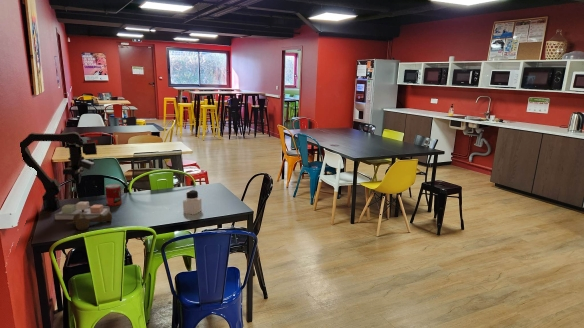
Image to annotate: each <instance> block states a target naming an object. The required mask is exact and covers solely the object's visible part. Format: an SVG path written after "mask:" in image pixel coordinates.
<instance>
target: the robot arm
mask: <svg viewBox="0 0 584 328" xmlns="http://www.w3.org/2000/svg"><path fill="white" fill-rule="evenodd" d="M34 142H61V143H66V145H64V148H65V149H68V152H69V157H68V158H67V159H68V161H70V163H69V165H68V167H66V168H63V170H62V175H64V176H66V175H67V176H68V175H70V176H71V177H72V178H73V180H74V181H75V182H76V184H81V179H82V175H83V173H84V172H85V171H86V170H91V169H93V168H94V165H95V161H94V158H89V159H85V157H84V156H83V155H85V156H92V155H96V156H97V154H98V150H97V148H98V147H97V144H96V141H92V142H85V140H83V139H82V138H81V135H80V133H79V132H76V131H70V132H64V133H63V132H62V133H39V132H38V133H35V132H31V133H29V134H28V135H27V136H26V137H25V138H24V139H23V140H22V141H20V147H21V153H22V157H23V160H24V161H23V160H22V161H23V162H24V164H26V166H27V167H28V166H29V167H32V168H34V169H35V170H36V171H37V175H35V177H37V179H38V180H39V181H40V182H41V185H42V186H43V189H44V191H45V192H44V193H43V195H42V196H41V197H42V205H43V208H42V209H41V210H42V211H56V210H57V209H58V208H60V207H61V204H60V199H59V197H58V196H57V195H59V193H60V191H61V183H60V182H58V179H57V178H54V179H53V178H51V177H50V176H49V175H48V174H47V173H46V172H45V170H44V169H43V168H42V167H41V166H40V165H39V163H38V162H37V160H35V158H34V157H33V156H32V154H31V151H30V149H29V146H30V145H31V144H33V143H34ZM82 154H83V155H82ZM29 167H28V168H29ZM83 168H84V169H83Z"/></svg>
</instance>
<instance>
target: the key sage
mask: <svg viewBox="0 0 584 328" xmlns="http://www.w3.org/2000/svg"><path fill="white" fill-rule="evenodd" d="M75 206H76V204H65V205H63V206H62V207H61V211H62V213H72V212H73V211H75V210H76V207H75Z"/></svg>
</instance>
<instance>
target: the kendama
mask: <svg viewBox="0 0 584 328" xmlns="http://www.w3.org/2000/svg"><path fill="white" fill-rule="evenodd" d="M112 221H113V215H112V212H111V211H110V212H108V213H107V214H100V215H99V216H96V217H93V218H89V219H87V218H85V215H84V214H76V215H75V216H74V217H73V219H72V221H69V222H66V223H65V224H66V225H72V224H73V225H75V228H76V229H77V230H79V231H82V230H83V231H84V230H87V229H88V228H89V227H90V223H91V222H98V223H99V222H100V223H103V222H110V223H111V222H112Z"/></svg>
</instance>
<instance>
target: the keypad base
mask: <svg viewBox="0 0 584 328" xmlns="http://www.w3.org/2000/svg"><path fill="white" fill-rule="evenodd" d="M92 206H93V205H89V207H88V208H87V209H86V210H75V211H73V212H72V213H62V210H61V211H59V212H57V213H55V214H54V218H55V220H73V217H74V216H75V215H76V214H84V215H85V218H87V219H89V218H93V217H96V216H99V215H100V214H107V213H108V212H111V210H110V207H111V206H108V205H106V206H104V205H103V211H101V212H100V213H91V212H90V207H92ZM75 207H76V205H75Z"/></svg>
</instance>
